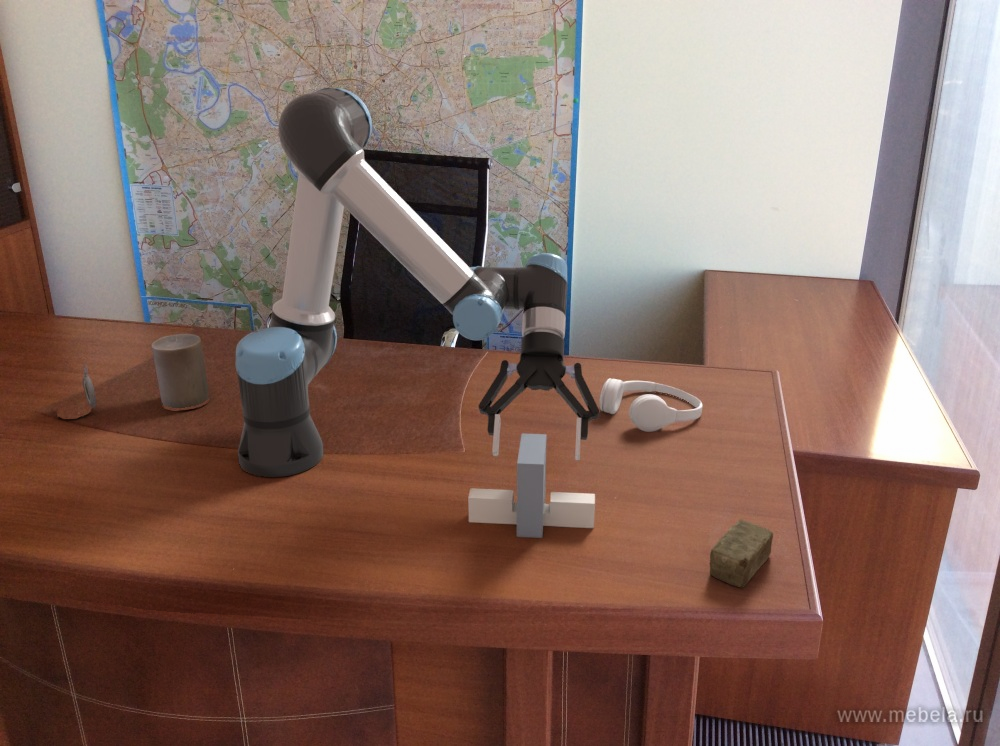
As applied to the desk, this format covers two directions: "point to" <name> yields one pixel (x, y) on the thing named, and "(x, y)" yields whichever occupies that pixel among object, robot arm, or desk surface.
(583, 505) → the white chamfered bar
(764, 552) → the stone block
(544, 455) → the blue-grey rectangular block
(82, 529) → the desk surface
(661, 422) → the headphones
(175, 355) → the grey cylinder
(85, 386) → the pocket watch
